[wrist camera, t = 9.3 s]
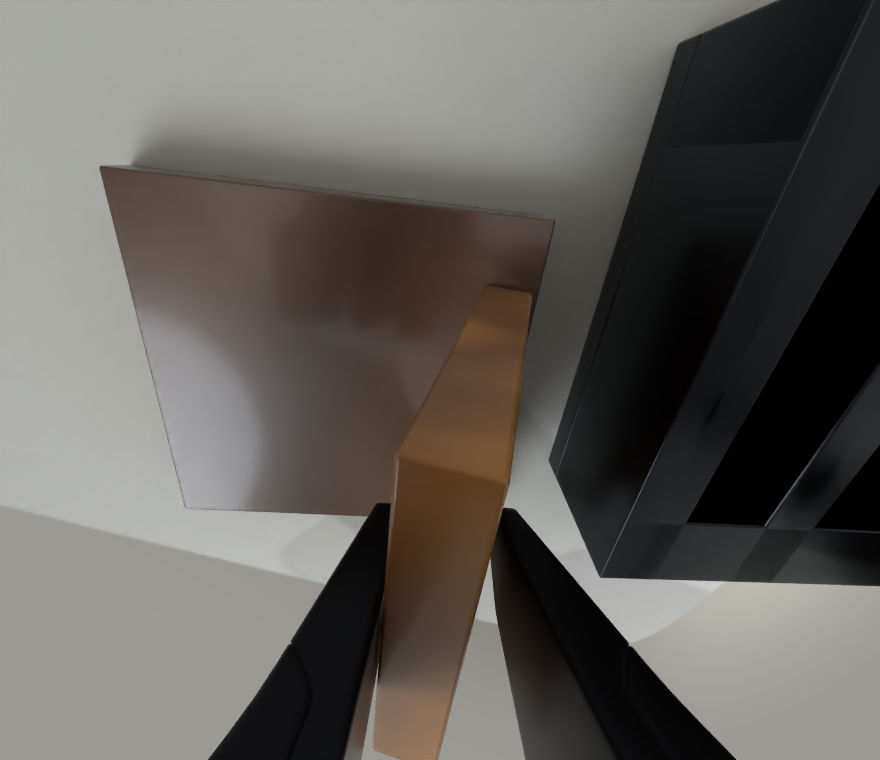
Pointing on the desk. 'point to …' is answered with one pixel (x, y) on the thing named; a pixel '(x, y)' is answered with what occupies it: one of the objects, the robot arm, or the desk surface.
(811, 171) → the toaster
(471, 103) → the desk surface
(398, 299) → the board
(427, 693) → the toast
